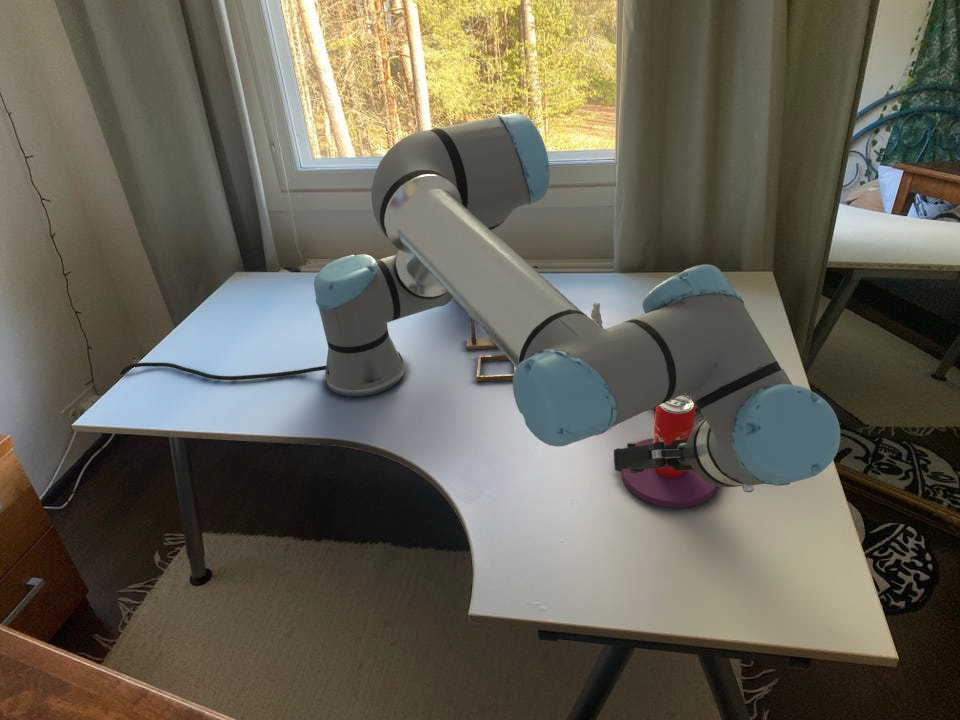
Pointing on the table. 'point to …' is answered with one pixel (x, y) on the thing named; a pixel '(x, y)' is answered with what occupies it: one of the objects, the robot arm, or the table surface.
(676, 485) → the lid
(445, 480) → the table surface
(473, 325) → the rack
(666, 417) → the beverage can
